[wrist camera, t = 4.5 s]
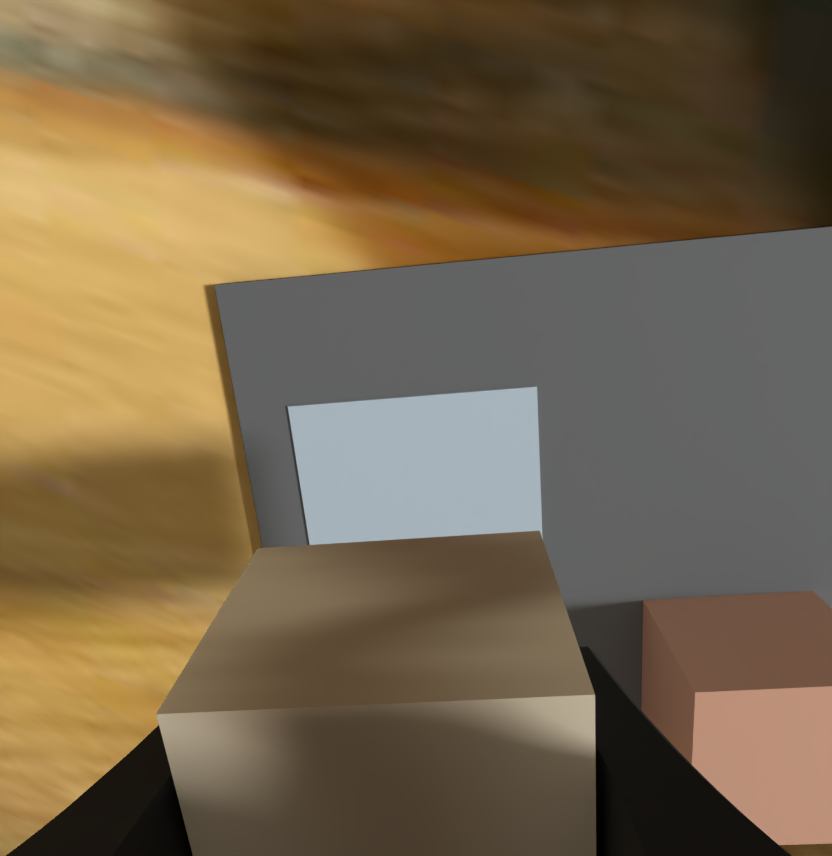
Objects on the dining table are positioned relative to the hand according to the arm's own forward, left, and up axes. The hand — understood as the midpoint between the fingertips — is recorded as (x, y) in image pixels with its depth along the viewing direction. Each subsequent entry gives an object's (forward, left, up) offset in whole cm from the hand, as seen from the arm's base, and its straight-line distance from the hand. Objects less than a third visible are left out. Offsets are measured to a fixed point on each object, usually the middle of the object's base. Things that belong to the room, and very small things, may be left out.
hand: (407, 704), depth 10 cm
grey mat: (-5, +1, -8) cm, 10 cm away
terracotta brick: (-9, +6, -8) cm, 13 cm away
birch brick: (0, 0, -1) cm, 1 cm away
